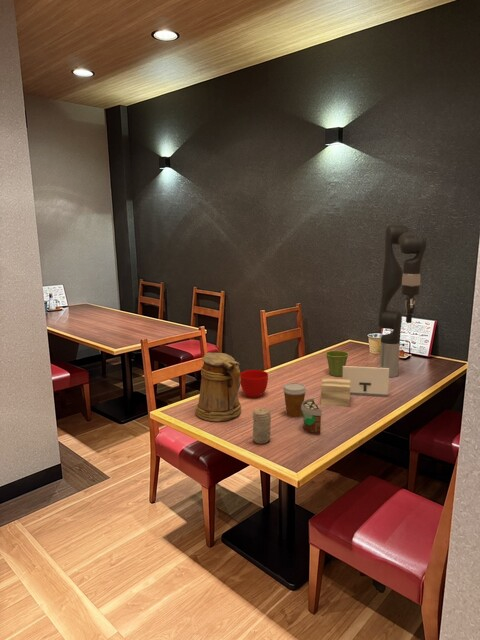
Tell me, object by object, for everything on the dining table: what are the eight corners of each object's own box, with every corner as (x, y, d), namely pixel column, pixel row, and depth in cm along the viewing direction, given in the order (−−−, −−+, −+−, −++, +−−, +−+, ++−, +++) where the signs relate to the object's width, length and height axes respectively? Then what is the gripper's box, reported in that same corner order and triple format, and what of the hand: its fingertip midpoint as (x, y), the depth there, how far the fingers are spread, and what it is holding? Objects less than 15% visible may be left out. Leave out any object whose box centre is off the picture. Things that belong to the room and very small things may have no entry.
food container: (297, 422, 181) (298, 398, 179) (313, 421, 182) (313, 397, 179) (304, 436, 169) (305, 411, 167) (321, 435, 170) (321, 410, 167)
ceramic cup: (275, 389, 217) (275, 369, 215) (261, 402, 202) (261, 380, 200) (250, 385, 223) (250, 366, 221) (235, 397, 208) (234, 376, 206)
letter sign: (342, 389, 216) (342, 363, 213) (386, 392, 211) (388, 365, 208) (342, 394, 210) (342, 366, 207) (387, 397, 205) (389, 369, 203)
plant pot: (347, 371, 242) (348, 350, 240) (348, 378, 230) (349, 357, 228) (324, 370, 244) (325, 349, 242) (324, 377, 233) (325, 356, 230)
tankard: (219, 401, 204) (218, 347, 199) (258, 416, 188) (257, 357, 182) (187, 413, 192) (185, 355, 187) (225, 430, 175) (223, 368, 170)
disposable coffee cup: (308, 410, 192) (308, 383, 190) (303, 420, 183) (303, 391, 181) (285, 408, 195) (285, 381, 193) (280, 417, 186) (280, 389, 184)
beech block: (322, 396, 208) (323, 377, 206) (349, 398, 205) (350, 379, 203) (320, 405, 198) (321, 385, 196) (349, 407, 195) (350, 387, 194)
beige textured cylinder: (250, 444, 164) (249, 412, 162) (256, 435, 171) (256, 404, 168) (267, 446, 162) (266, 415, 159) (273, 437, 169) (273, 407, 166)
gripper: (400, 281, 207) (398, 319, 211) (403, 285, 194) (401, 325, 198) (417, 281, 205) (415, 319, 209) (422, 285, 193) (419, 326, 196)
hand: (408, 322), depth 204 cm, fingers closed
